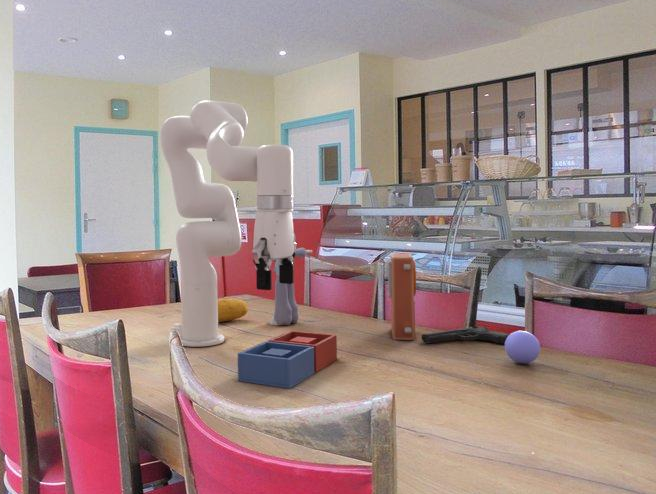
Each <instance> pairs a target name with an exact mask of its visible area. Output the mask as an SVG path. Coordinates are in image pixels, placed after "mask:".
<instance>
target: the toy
mask: <svg viewBox="0 0 656 494" xmlns="http://www.w3.org/2000/svg"><path fill="white" fill-rule="evenodd" d="M296 239H297V237H296V233H294V242H295V243H296ZM313 251H314V250H312V249H306V248H305V247H298V248H296V250H295V254H296V255H295V257H294V258H298V259H299V258H300V259H303V258H305V257H306V255H308V254H313ZM266 262H267V261H265V263H266ZM272 262H274V263H275V265H274V266H273V273H274V274H276V279H275V281H274V314H273V316H272V317H271V318H270V320H269V325H270V326H290V325H291V324H296V323H297V322H298V321H299V305H298V304H297V301H296V297H295V296H296V295H295V283H294V282H293V284H285V283H280V282H279V265H282V264H281V262H280V260H279V259H278V260H273V261H272ZM294 267H295V266H293V271H294Z"/></svg>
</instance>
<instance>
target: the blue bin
mask: <svg viewBox="0 0 656 494" xmlns="http://www.w3.org/2000/svg"><path fill="white" fill-rule="evenodd" d="M272 348H274V349H282V350H291V351H292V356H291V357H289V358H280V357H272V356H264V355H261V353H263V352H265V351H267V350H270V349H272ZM314 374H315V372H314V347H311V346H303V345H294V344H285V343H275V342H268V341H263V342H261V343H259V344H256V345H253V346H252V347H249V348H247V349H244V350H242V351H240V352H238V353H237V381H238V382H242V383H243V382H245V383H251V384H257V385H262V386H270V387H275V388H282V389H292V388H293V387H295V386H296V385H299V384H300V383H301V382H303V381H305V380H306V379H308V378H309V377H312V376H313V375H314Z"/></svg>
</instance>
